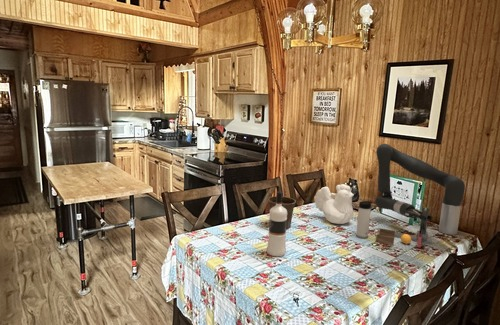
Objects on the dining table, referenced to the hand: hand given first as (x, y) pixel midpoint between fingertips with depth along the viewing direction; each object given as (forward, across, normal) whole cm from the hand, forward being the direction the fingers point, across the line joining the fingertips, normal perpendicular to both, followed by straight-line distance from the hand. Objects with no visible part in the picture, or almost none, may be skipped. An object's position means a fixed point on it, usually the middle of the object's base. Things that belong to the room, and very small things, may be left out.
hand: (429, 218), depth 169 cm
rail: (-8, -5, +14) cm, 16 cm away
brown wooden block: (-9, -19, +14) cm, 25 cm away
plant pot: (-42, -67, +14) cm, 80 cm away
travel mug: (-16, -29, +14) cm, 36 cm away
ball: (-2, -12, +11) cm, 16 cm away
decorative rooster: (-43, -30, +14) cm, 54 cm away
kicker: (0, -3, +13) cm, 14 cm away
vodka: (-9, -84, +14) cm, 86 cm away
